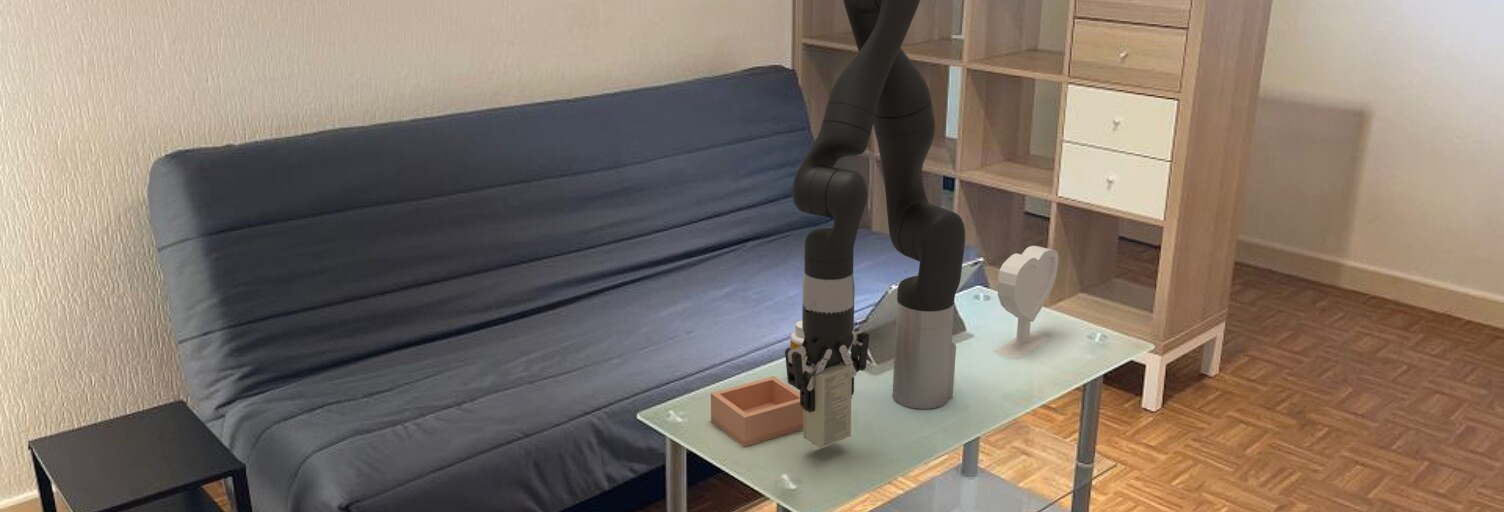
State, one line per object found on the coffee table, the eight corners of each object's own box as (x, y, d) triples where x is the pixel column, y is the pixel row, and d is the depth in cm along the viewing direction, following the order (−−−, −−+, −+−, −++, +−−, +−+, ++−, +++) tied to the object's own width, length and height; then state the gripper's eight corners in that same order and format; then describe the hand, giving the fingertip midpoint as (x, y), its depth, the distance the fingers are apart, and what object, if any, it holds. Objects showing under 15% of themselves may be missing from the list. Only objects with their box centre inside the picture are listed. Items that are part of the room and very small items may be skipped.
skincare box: (832, 426, 191) (833, 354, 187) (852, 437, 188) (853, 364, 184) (801, 438, 187) (801, 365, 183) (820, 449, 184) (821, 375, 180)
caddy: (773, 403, 204) (773, 376, 202) (808, 427, 196) (809, 399, 195) (710, 421, 198) (710, 393, 196) (744, 447, 190) (744, 417, 188)
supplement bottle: (815, 388, 210) (816, 332, 206) (784, 382, 212) (785, 327, 208) (826, 375, 215) (828, 320, 211) (796, 369, 217) (797, 315, 213)
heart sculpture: (1012, 362, 220) (1020, 266, 214) (988, 354, 223) (995, 260, 217) (1055, 336, 231) (1063, 245, 225) (1031, 329, 234) (1039, 239, 228)
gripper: (852, 282, 186) (849, 383, 192) (772, 303, 179) (773, 407, 185) (883, 298, 181) (880, 401, 186) (802, 320, 173) (802, 426, 179)
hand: (826, 403), depth 186 cm, fingers closed on skincare box, 6 cm apart
